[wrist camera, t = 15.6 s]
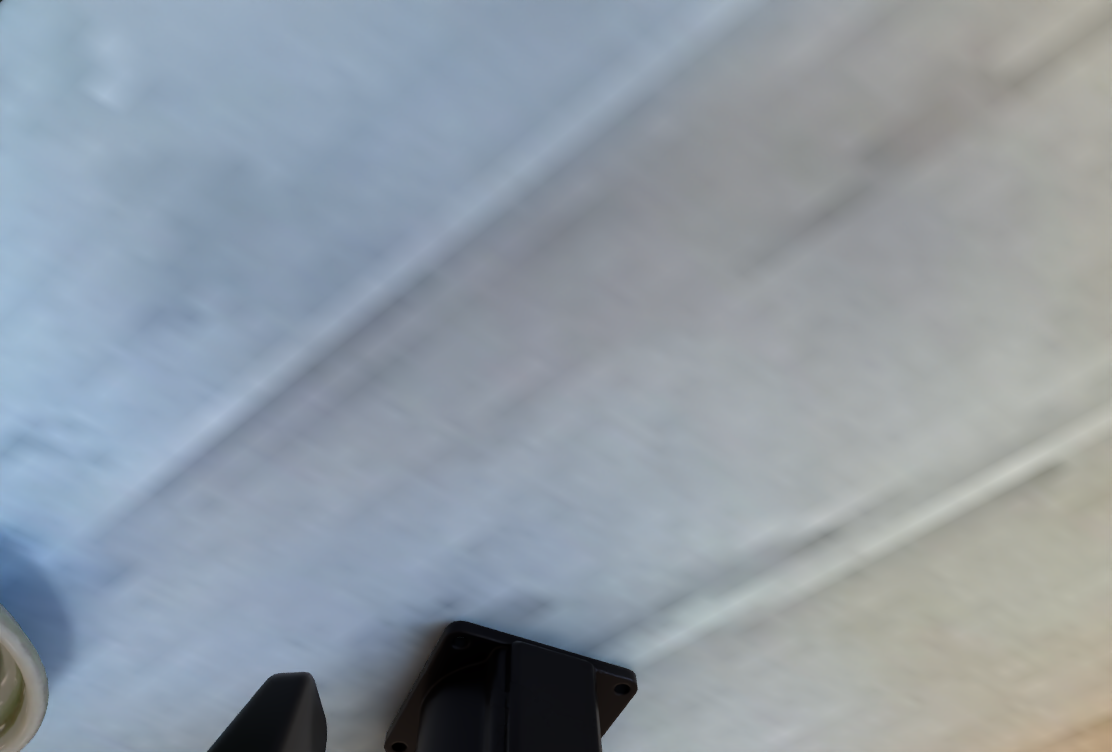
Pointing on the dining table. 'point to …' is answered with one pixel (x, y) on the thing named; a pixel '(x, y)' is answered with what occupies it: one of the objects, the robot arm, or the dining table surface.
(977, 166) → the dining table surface
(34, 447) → the dining table surface
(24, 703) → the saucer
